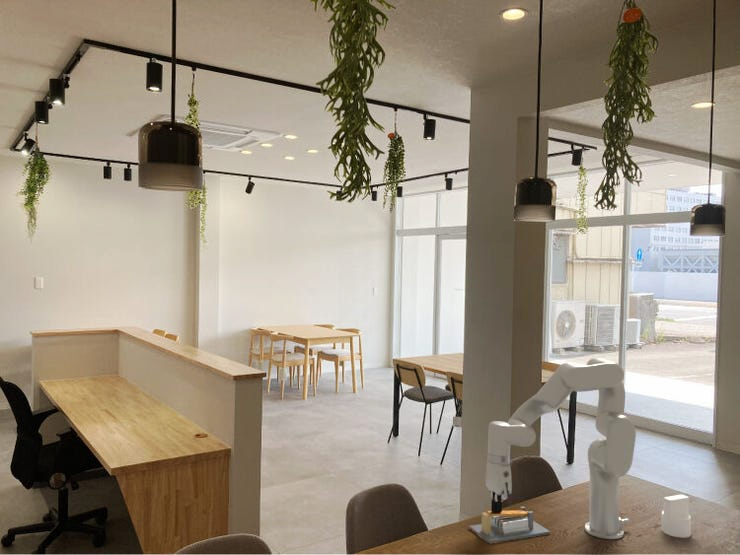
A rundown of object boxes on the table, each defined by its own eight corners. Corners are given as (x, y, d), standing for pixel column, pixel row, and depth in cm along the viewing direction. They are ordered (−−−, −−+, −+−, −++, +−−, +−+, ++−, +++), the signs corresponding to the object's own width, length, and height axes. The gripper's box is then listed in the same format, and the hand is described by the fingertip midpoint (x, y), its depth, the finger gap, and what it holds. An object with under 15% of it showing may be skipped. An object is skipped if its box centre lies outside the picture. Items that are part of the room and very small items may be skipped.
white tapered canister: (674, 525, 212) (675, 491, 212) (696, 535, 204) (697, 500, 204) (655, 528, 209) (655, 494, 209) (677, 539, 201) (677, 503, 201)
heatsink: (514, 521, 211) (514, 510, 211) (529, 531, 203) (529, 520, 203) (489, 525, 208) (489, 513, 208) (504, 535, 199) (504, 523, 200)
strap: (525, 513, 209) (525, 509, 209) (530, 516, 207) (530, 512, 207) (487, 513, 204) (487, 510, 204) (491, 517, 201) (492, 513, 201)
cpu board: (527, 519, 216) (527, 500, 216) (550, 534, 203) (550, 513, 203) (469, 528, 207) (469, 508, 207) (489, 544, 195) (489, 523, 195)
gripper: (520, 464, 198) (518, 519, 198) (496, 451, 212) (494, 502, 212) (501, 465, 196) (498, 521, 196) (477, 452, 210) (475, 504, 210)
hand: (496, 511), depth 204 cm, fingers closed
